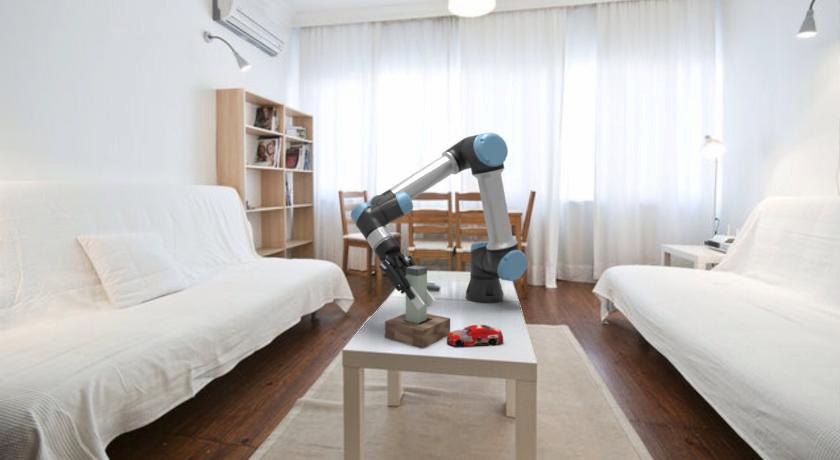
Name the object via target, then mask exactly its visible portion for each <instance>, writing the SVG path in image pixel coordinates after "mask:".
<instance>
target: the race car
mask: <svg viewBox="0 0 840 460" xmlns="http://www.w3.org/2000/svg"><path fill="white" fill-rule="evenodd" d="M503 341H504V335H503V332H502V330H501V329H499V327H498V328H497V327H494V326H490V325H487V324H471V325H469V326H468V325H467V326H465V327H464V328H463V329H458V330H454V331H450V333H449V334H448V336H446V342H447V343H448V344H449V345H452V346H456V348H463V347H467V346H468V347H470V346H487V345H488V346H490V345H492V346H496V345H500V344H501V343H503Z"/></svg>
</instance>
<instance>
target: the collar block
mask: <svg viewBox="0 0 840 460" xmlns="http://www.w3.org/2000/svg"><path fill="white" fill-rule="evenodd" d="M450 332H451V317H447V316H441V315H437V314H432V313H427V320H425V321H423V322H420V323H413V322H409V321H406V313H403V314H400V315H398V316H395V317H392V318H389V319H387V320H385V321H384V338H385V339H389V340H392V341H396V342H400V343H403V344H407V345H410V346H414V347H418V348H422V349H424V348H426V347H428V346H430V345H432V344H434V343H436V342H438V341H439V340H442V339H444V338H447V336H448V334H449V333H450Z"/></svg>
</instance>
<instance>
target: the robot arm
mask: <svg viewBox="0 0 840 460" xmlns="http://www.w3.org/2000/svg"><path fill="white" fill-rule="evenodd" d="M508 152H509V150H508V145H507V143H506V141H505V140H504V138H503V137H502V136H501V135H499V134H497V133H495V132H482V133H480V134H475V135H471V136H467V137H464V138H462V139H461V140H459V141H458V142H457V143H455V144H453V145H452V146H451V147H449V148H448V149H447V150H445V151H443V152H442V154H441V156H440V157H439V158H437V159H436V160H434V161H432V162H430V163H429V164H427V165H425V166H424V167H423V168H421V169H420V170H418V171H416V172H414V173H412V174H411V175H410V176H408V177H406V178H405V179H404V180H402V181H400V182H399V183H397V184H395V185H394V186H391V188H389V189H388V190H385V191H384V192H383V193H381V194H378V195H377V194H376V195H375V196H373V197H371V199H370V200H369V202H366V201H364V202H361V203H358V204H356V206H355V207H353V208H352V211H351V213H350V217H351V219H352V221H353V222H354V224H355V227H356V228H357V229H358V230H359V231H360V233H361V234H362V235H363V237H364V238H365V240H366V241H367V243H368V245H369V246H370V248H371V249H372V251H374V253H375V255H376V257H377V258H378V259H379V261H380V262H381V263H380V265H379V268H380V269H381V271H382V272H384V274H385V275H386V276H387V278H388V279H389V281H390V283H392V285H393V287H394V288H395V289H396V290H397V292H400V293H401V294H404V293H405V296H406V295H407V296H408V298H409V299H410V300H411V301H412V302H413V304H414V305H415V307H416V308H417V309H418V310H420V309H421V308H422V307H423V306H424V305H425V304H424V302H423V301H422V299H421V298H420V296H419V295H418V294H417V292H416V291H415V289H414V288H413V287H410V285H409V283H408V281H407V279H406V267H411V266H417V263H416V262H415V261H414V259H413V257H412V256H411V255H408V256H405V255H404V254H403V253H402V252H401V246H400V244H399V243H398V241H397V240H396V239H395V238H394V236H393V234H392V233H391V232H390V230H389V228H388V227H387V225H389V224H390V223H392V222H394V221H396V220H399V219H400V218H402V217H404V216H406V215H408V214H409V213H410V212H412V211H413V208H414V205H413V201H412V200H413V199H414V198H416V197H418V196H420V195H421V194H423V193H425V192H426V191H427V190H429V189H430V188H432V187H434V186H435V185H437V184H438V183H440V182H442V181H443V180H445V179H446V178H448V177H449V176H451V175H457V174H459V173H460V172H463V171H464V170H469V169H470V170H471V171H470V172H471V175H472V176H473V177H474V178H475V179H476V180H477V185H478V189H479V195H480V200H481V204H482V205H481V206H482V210H483V216H484V221H485V225H486V231H487V237H488V241H483V242H482V241H480V242H472V244H471V245H470V251H469V252H470V279H469V282H468V285H467V288H466V290H465V299H467V300H469V301H471V302H477V303H485V304H486V303H490V304H491V303H499V302H501V301H504V291H503V287H502V284H501V281H500V280H502V281H508V282H513V281H517V280H519V279H520V278H521V277H522V276H523V275H524V273H525V272H526V271H527V266H528V259H527V256H526V254H525V253H524V252H523V251H522V250H520V249H519V244H518V240H517V239H515V238H514V237H513V234H512V228H511V222H510V221H511V220H510V217H509V212H508V211H509V209H508V206H507V200H506V195H505V190H504V183H503V178H502V172H504V170H505V164H504V163H505V162H506V159H507V157H508ZM409 287H410V288H409ZM434 302H436V300H435V298H434V296H433V295H432V294H431V293H430V290H429V289H428V288H427V307H431V306H432V304H433V303H434Z"/></svg>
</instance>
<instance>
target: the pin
mask: <svg viewBox="0 0 840 460" xmlns="http://www.w3.org/2000/svg"><path fill="white" fill-rule="evenodd" d="M405 277H406V279H407V281H408V283H409V285H410V287H413V288H414V289H415V291H416V292H417V294H418V295H419V296H420V298H421V299H422V301H423V302H424V304H425V305H424V306H423V307H422V308H421V309H420V310H418V309H417V308H416V307H415V305H414V304H413V302H412V301H411V300H410V299H409V298H408V296H407V295H406V294H405V314H406V321H409V322H413V323H420V322H423V321H425V320H427V311H428V310H427V309H428V305H427V289H428V267H427V266H420V265H416V266H411V267H406V275H405ZM410 287H409V288H410Z"/></svg>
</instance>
